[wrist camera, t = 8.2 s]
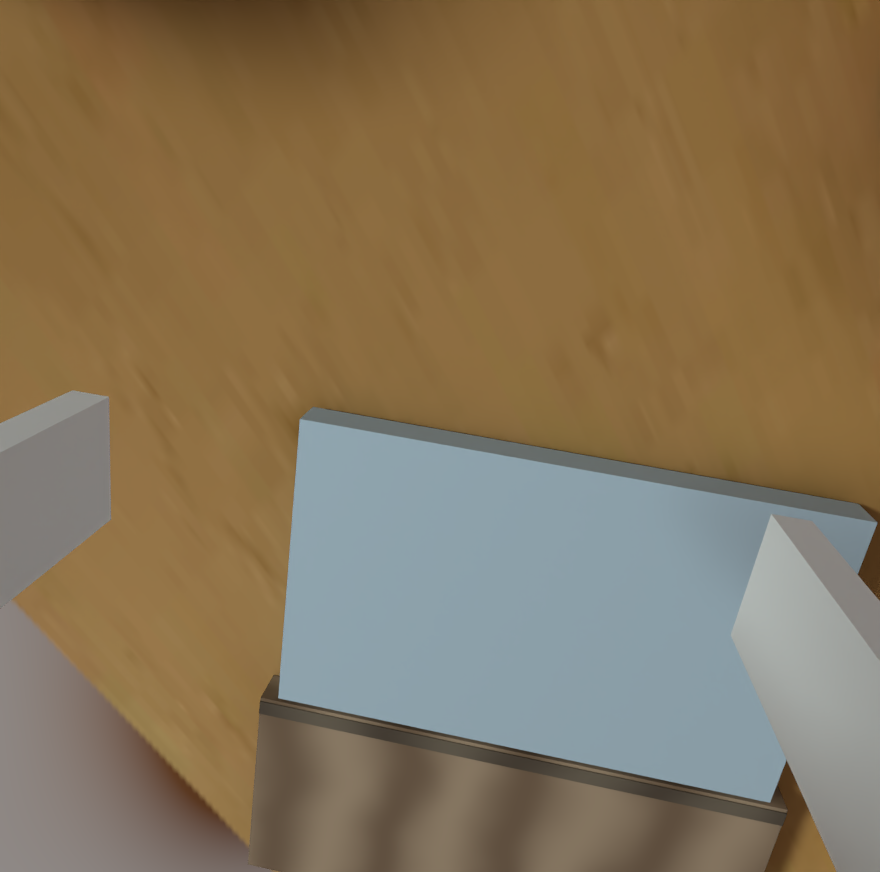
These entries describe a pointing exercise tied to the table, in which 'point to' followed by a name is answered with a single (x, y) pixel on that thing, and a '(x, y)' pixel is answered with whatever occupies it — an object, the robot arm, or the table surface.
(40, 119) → the table surface
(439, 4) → the table surface
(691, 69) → the table surface
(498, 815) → the floor board
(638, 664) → the plank
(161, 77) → the table surface
